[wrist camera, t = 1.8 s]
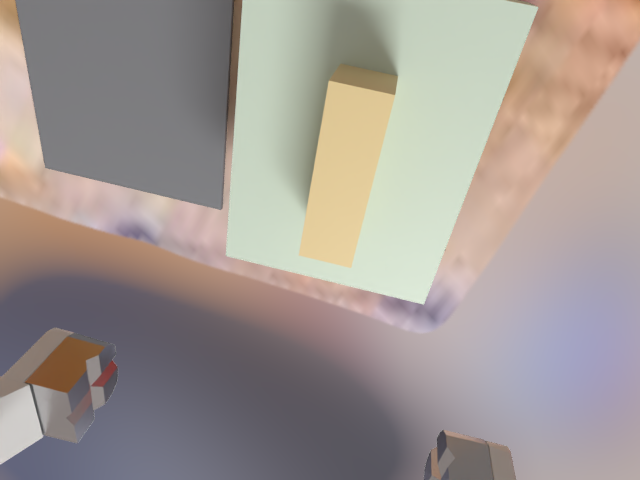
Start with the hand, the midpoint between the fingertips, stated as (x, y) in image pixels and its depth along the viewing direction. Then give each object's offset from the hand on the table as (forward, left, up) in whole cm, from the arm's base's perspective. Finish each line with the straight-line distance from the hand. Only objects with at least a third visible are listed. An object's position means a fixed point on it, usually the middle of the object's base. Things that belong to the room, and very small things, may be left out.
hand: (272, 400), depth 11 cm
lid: (0, 0, -18) cm, 18 cm away
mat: (0, -17, -24) cm, 29 cm away
